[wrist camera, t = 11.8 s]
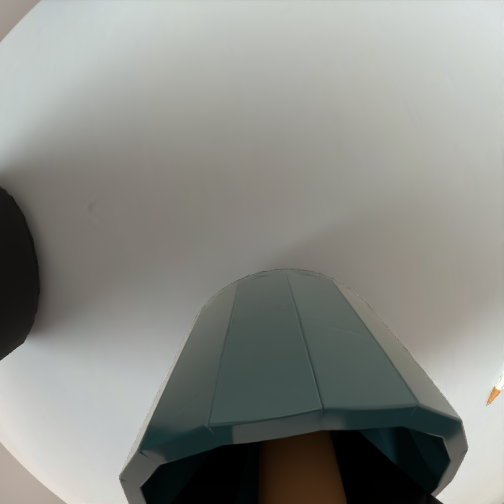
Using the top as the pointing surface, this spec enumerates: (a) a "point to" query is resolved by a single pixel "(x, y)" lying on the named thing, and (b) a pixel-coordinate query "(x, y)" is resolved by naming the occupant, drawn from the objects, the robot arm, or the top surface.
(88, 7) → the top surface
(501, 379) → the pencil
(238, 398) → the teal cup
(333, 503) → the tan wooden dowel
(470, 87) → the top surface
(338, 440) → the robot arm
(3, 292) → the coffee jar
